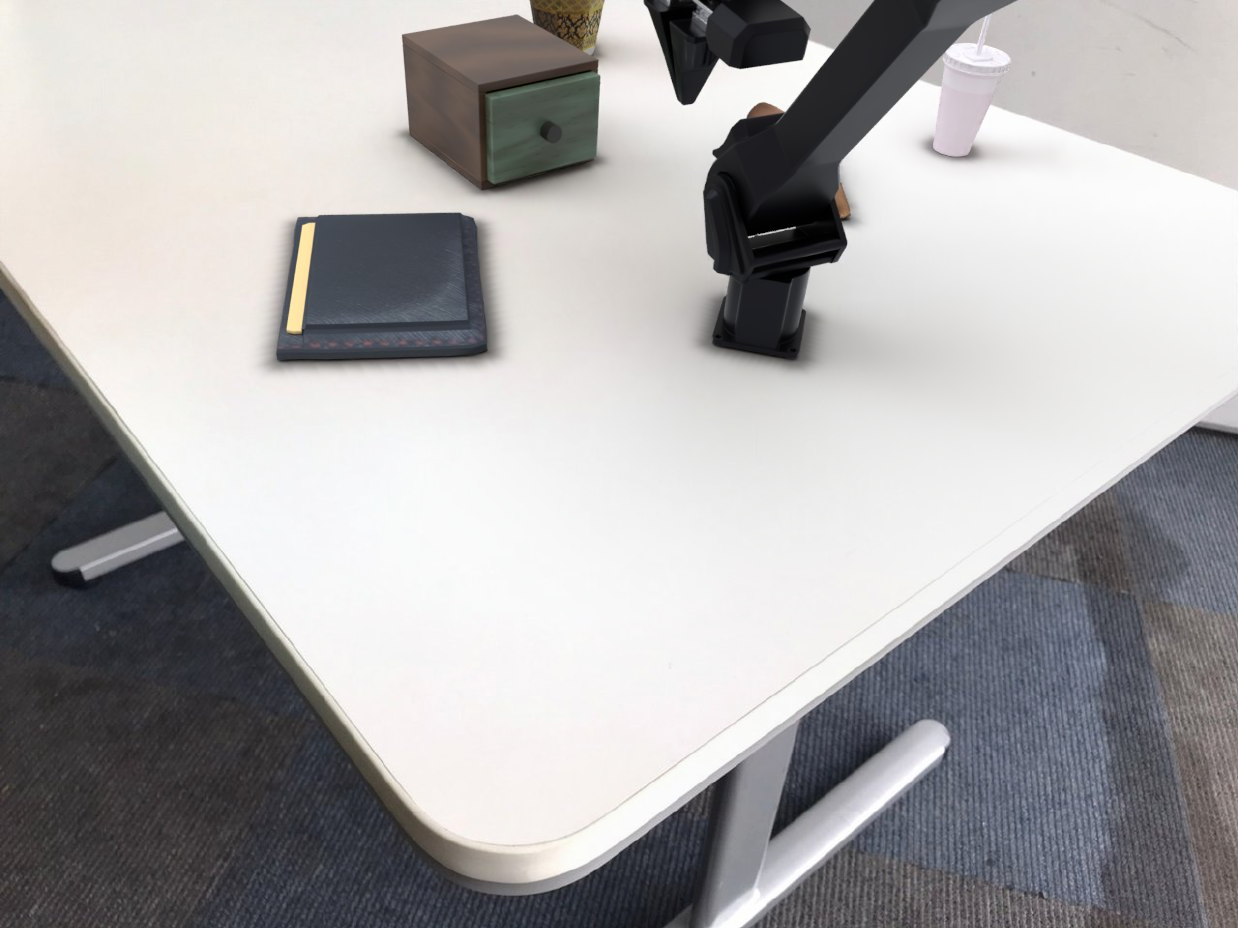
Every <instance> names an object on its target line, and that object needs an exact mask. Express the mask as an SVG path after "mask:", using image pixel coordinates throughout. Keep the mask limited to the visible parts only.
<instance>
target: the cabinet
mask: <svg viewBox="0 0 1238 928" xmlns="http://www.w3.org/2000/svg"><path fill="white" fill-rule="evenodd" d="M401 42H402V54H403V55H402V56H403V67H404V80H405V81H404V83H405V93H406V94H405V96H406V106H407V118H408V119H407V120H408V131H409V132H408V133H409V136H411V137H412V138H413V139H414V140H416V141H417V142H419V143H420V144H421V145H423V146H424V147H425V148H426V149H428V150H429V151H430V152H431V153H433V154H434V155H435V156H437V157H438V158H439V159H441V161H443V162H445V163H446V164H447V165H449V166H450V167H451V168H452V169H454V170H455V171H456V172H457V173H459V174H460V175H462V177H464V178H465V179H467V180H468V181H469V182H470V183H472V184H473V185H475V186H476V187H477V188H478V189H479V190H481V191H482V190H486V189H491V188H494V187H497V186H502V185H505V184H508V183H513V182H516V181H520V180H524V179H527V178H531V177H535V176H538V175H542V174H546V173H550V172H553V171H558V170H562V169H565V168H569V167H573V166H575V165H580V164H584V163H588V162H591V161H594V160H595V158H592V159H588V160H584V161H580V162H577V163H573V164H569V165H565V166H561V167H558V168H554V169H550V170H546V171H543V172H539V173H535V174H531V175H527V176H524V177H520V178H516V179H512V180H509V181H505V182H501V183H497V184H493V183H491V182H490V181H489V180H487V156H486V118H485V94H486V92H489V91H493V90H498V89H503V88H508V87H512V86H517V85H522V84H526V83H531V82H536V81H540V80H545V79H550V78H555V77H559V76H564V75H569V74H573V73H578V74H582V73H587V72H591V71H594V72H595V73H597V74H599V59H598V58H596V57H594V56H593V55H589V54H587V53H585V52H584V51H582V50H580V49H578V48H576V47H575V46H573V45H571V44H569V43H568V42H566V41H564V40H562V39H560V38H559V37H557V36H555V35H553V34H551V33H550V32H548V31H546V30H544V29H542V28H541V27H539V26H537V25H535V24H534V23H533V21H530V20H528V19H526V18H524V17H523V16H521V15H519V14H510V15H505V16H501V17H494V18H488V19H483V20H477V21H471V22H466V23H460V24H454V25H453V24H452V25H449V26H441V27H437V28H430V29H425V30H420V31H419V30H418V31H414V32H409V33H408V32H407V33H403V34H401Z"/></svg>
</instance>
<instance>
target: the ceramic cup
mask: <svg viewBox="0 0 1238 928" xmlns="http://www.w3.org/2000/svg"><path fill="white" fill-rule="evenodd" d="M605 1H606V0H529V4H530V10H531V17H532V23H534V24H535V25H537V26H539V27H541V28H542V29H544V30H546V31H548V32H550V33H551V34H553V35H555V36H557V37H559V38H560V39H562V40H564V41H566V42H568V43H569V44H571V45H573V46H575V47H576V48H578V49H580V50H582V51H584V52H585V53H587V54H589V55H591V56H593V54H594V53H595V47H596V44H597V38H598V33H599V30H600V25H601V19H602V16H603V15H602V14H603V9H604V5H605Z"/></svg>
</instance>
